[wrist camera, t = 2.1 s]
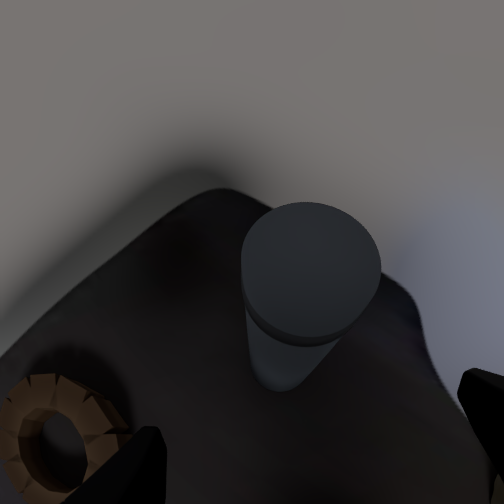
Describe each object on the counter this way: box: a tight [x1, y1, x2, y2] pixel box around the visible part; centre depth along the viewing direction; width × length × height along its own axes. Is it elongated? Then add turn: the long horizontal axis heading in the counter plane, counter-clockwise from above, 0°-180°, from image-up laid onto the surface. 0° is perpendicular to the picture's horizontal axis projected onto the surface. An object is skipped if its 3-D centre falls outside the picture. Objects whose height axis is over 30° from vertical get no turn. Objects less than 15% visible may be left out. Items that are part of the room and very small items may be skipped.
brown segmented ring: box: [0, 373, 133, 504], centre depth 13 cm, size 10×10×2 cm
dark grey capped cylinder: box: [241, 202, 381, 392], centre depth 13 cm, size 4×4×12 cm
